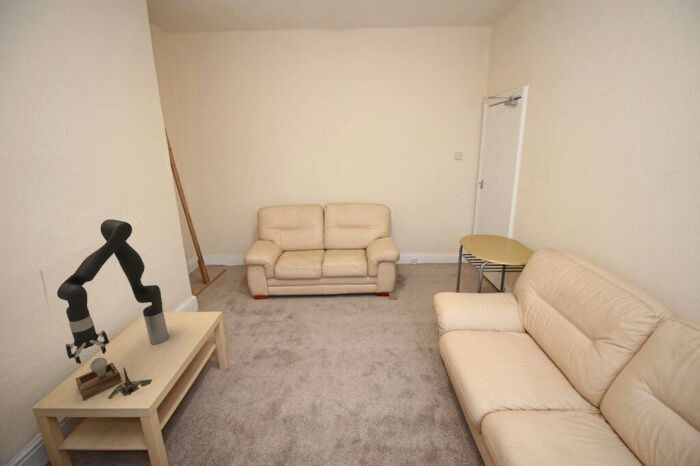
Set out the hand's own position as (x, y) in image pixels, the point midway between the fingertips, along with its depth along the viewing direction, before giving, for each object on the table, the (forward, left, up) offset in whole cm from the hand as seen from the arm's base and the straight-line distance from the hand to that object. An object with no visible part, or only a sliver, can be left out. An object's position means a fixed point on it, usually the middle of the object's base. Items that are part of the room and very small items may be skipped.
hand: (92, 358), depth 139 cm
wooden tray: (0, 0, -15) cm, 14 cm away
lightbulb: (0, +2, -13) cm, 13 cm away
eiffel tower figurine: (+15, +8, -15) cm, 23 cm away
